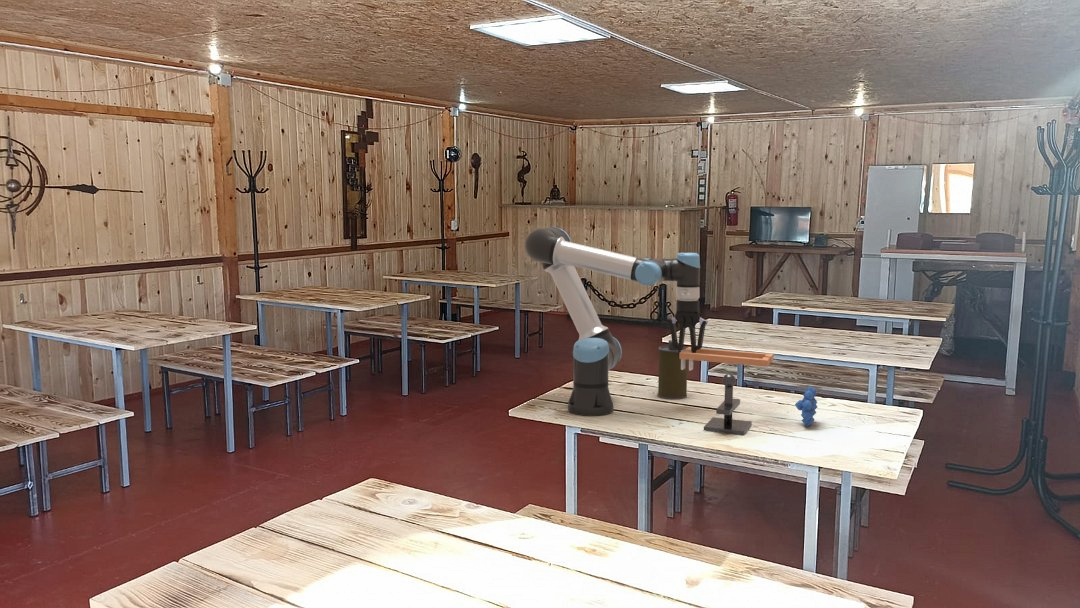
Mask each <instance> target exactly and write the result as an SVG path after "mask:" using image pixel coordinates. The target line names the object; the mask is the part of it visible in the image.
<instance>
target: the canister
mask: <svg viewBox="0 0 1080 608" xmlns="http://www.w3.org/2000/svg"><path fill="white" fill-rule="evenodd" d="M667 343H668V345H663V346H659V347H658V384H657V385H658V388H657V389H658V391H657V392H658V393H657V396H658V398H661V399H667V400H682V399H687V398H688V391H687V390H688V388H687V387H688V360H687V359H685V369H684V370H681V359H678V349H676V348H673V345H672V339H668V342H667ZM683 347H684V348H683V349H686V348H687V347H686V346H683Z"/></svg>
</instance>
